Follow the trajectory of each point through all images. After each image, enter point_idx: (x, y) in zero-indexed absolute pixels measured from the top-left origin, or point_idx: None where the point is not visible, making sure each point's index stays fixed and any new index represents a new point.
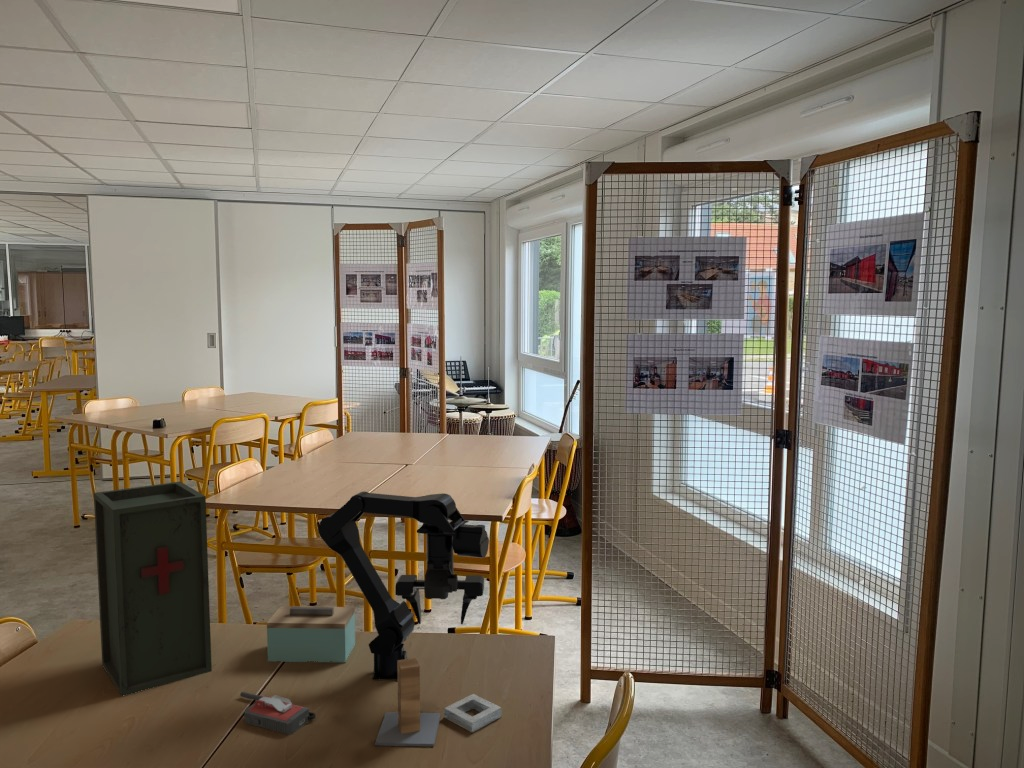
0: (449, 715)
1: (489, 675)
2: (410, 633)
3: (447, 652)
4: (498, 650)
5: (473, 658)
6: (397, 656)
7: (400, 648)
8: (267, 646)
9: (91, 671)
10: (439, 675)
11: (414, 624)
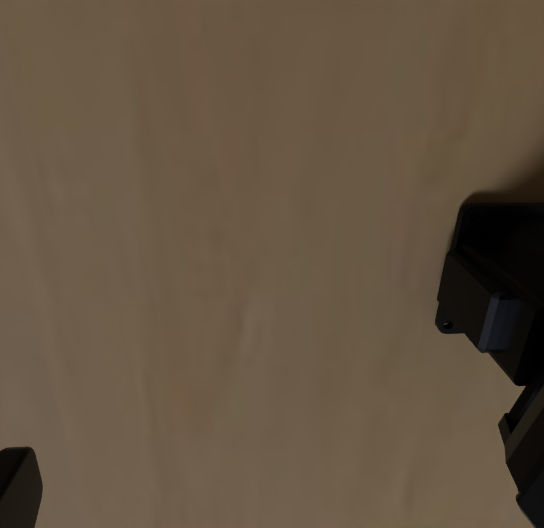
0: None
1: (11, 270)
2: (519, 426)
3: (255, 449)
4: None
5: (130, 414)
6: (538, 281)
7: (541, 326)
8: None
9: None
10: (272, 259)
11: (518, 500)
